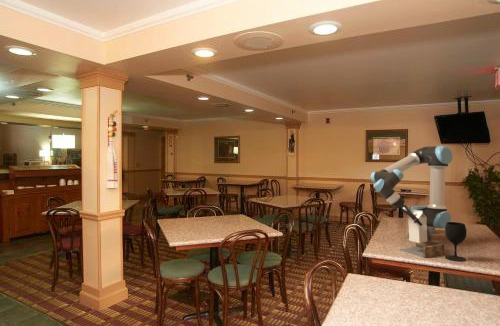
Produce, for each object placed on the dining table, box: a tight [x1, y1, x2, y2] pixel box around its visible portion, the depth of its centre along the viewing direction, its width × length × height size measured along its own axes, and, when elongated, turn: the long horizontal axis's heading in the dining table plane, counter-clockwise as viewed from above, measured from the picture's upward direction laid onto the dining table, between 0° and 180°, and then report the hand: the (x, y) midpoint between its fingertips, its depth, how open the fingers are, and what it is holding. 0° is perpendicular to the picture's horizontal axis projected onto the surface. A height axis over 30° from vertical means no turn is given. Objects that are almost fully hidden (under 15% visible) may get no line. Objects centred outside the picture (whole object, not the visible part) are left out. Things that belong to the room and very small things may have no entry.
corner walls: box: [415, 240, 445, 259], centre depth 198 cm, size 16×19×6 cm
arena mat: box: [399, 246, 424, 258], centre depth 198 cm, size 15×16×1 cm
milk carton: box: [407, 210, 427, 244], centre depth 198 cm, size 7×7×19 cm
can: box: [429, 226, 436, 235], centre depth 247 cm, size 11×11×12 cm
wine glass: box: [444, 221, 467, 263], centre depth 184 cm, size 10×10×20 cm
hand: (423, 227), depth 197 cm, fingers closed on milk carton, 10 cm apart
